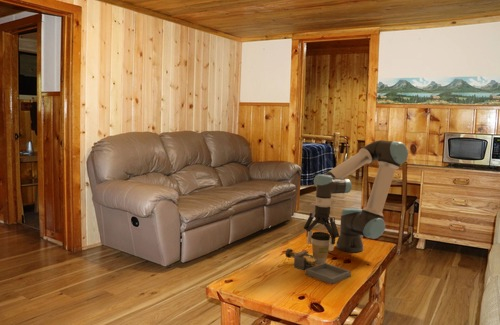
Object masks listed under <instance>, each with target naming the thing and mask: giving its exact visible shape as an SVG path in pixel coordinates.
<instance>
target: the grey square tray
mask: <svg viewBox="0 0 500 325" xmlns="http://www.w3.org/2000/svg"><path fill="white" fill-rule="evenodd" d="M304 273H305V275H306V276H309V277H311V278H313V279H317V280H318V281H322V282H325V283H326V284H329V285H335V284H337V283H339V282H341V281H343V280H346V279H348V278H350V277H351V276H352V271H351V270H348V269H345V268H343V267H339V266H336V265H334V264H332V263H331V264H330V263H328V262H326V263H322V264H319V265H317V264H315V265H313V267H311V268H308V269H306V270H305V272H304Z"/></svg>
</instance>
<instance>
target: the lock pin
mask: <svg viewBox="0 0 500 325" xmlns="http://www.w3.org/2000/svg"><path fill="white" fill-rule="evenodd" d="M296 253H297V252H296V251H293V249H292V248H287V249H286V251H285V254H284V255H285V257H286V258H289V259H291V258H292V259H294V255H296ZM301 256H302V257H305V258H306V262H307V263H310V264H312V265H313V266H315V265H316V264H315V263H316V259H314V258H311V257H308V256H305V255H301Z"/></svg>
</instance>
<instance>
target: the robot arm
mask: <svg viewBox="0 0 500 325" xmlns="http://www.w3.org/2000/svg"><path fill="white" fill-rule="evenodd" d="M408 156H409V151H408V148H407V145H405V143H403V142H402V141H397V140H393V141H392V140H383V139H381V140H376V141H373V142H370V143H367V144H366V145H365V146H363V147H361V148H360V149H359V150H358V152H357V153H355V154H354V155H353V156H351V157H348V159H346V160H344V161H343V162H342V163H339V164H338V165H337V166H335V167H334V168H331V170H329V171H327V172H325V173H324V174H321V173H319V174H316V175H315V177H314V179H313V185H314V186H315V187H316V189H315V190H316V191H315V206H314V211H313V212H310V213H309V215H308V218H307V221H306V222H305V224H304V226H303V229H304V230H306V235H305V236H306V237H307V239H306V240H307V242H306V245H310V244H312V238H311V236H312V234H313V228H315V226H316V225H317V224H320V225H322V226H324V227H325V228H326V230H327V233H328V234H330V237H331V238H330V242H329V249H328V252H330V251H334V245H335V248H336V249H338V250H340V251H343V252H347V253H348V252H349V253H360V252H362V251H364V243H363V238H362V237H363V236H364V237H365V238H369V239H373V240H374V239H378V238H380V237H382V235H383V233H384V232H385V230H386V221H385V220H384V213H383V211H384V207H385V204H386V201H387V197H388V194H389V191H390V189H391V185H392V182H393V178H394V175H395V172H396V170H399V169H400V167H401V165H402V164H404V163H405V162H407V161H408V159H409V158H408ZM376 161H377V164H378V170H377V172H376V174H375V175H376V176H375V178H374V180H373V184H372V187H371V191H370V195H369V197H368V200H367V204H366V206H365V207H364V208H356V207H355V208H354V207H351V208H350V207H349V208H348V207H347V208H342V210H341V214H340V225H339V226H340V227H339V228H340V229H339V230H338V227H337V225H336V218H335V217H330V214H331V204H332V203H331V202H332V195H333V194H335V195H336V194H342V195H343V194H348V193H349V194H350V192H351V191H352V186H353V185H352V184H353V183H352V181H351V180H350V179H349V178H346V177H348V176H349V175H351V174H352V173H354V172H355V171H357V170H358V169H360V168H361V167H363V166H365V165H366V164H367V165H369V164H371V163H372V162H376ZM336 238H337V240H336Z"/></svg>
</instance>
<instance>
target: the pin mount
mask: <svg viewBox="0 0 500 325" xmlns="http://www.w3.org/2000/svg"><path fill="white" fill-rule="evenodd" d="M301 255H305V256H308V257H311V258H313V254H309V251H307V250H305V249H304V250H302V251H298V252H296V255H294V258H293V260H294V261H293V267H294V268H295V269H297V270H300V271H302V272H304V271H305V272H306V269H308V268H311V267H313V266H314V265H312V264H310V263H307V262H306V258H305V257H302V256H301Z"/></svg>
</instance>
